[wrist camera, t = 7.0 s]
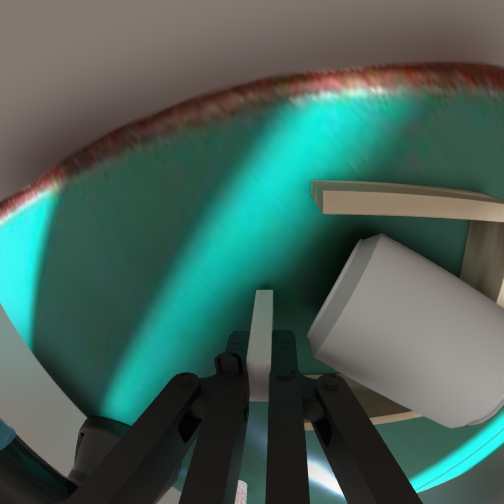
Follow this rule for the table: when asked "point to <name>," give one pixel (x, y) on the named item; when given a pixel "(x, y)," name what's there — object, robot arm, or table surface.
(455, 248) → the table surface
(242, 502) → the beverage cup
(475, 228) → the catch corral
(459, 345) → the can
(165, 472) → the robot arm
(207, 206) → the table surface
